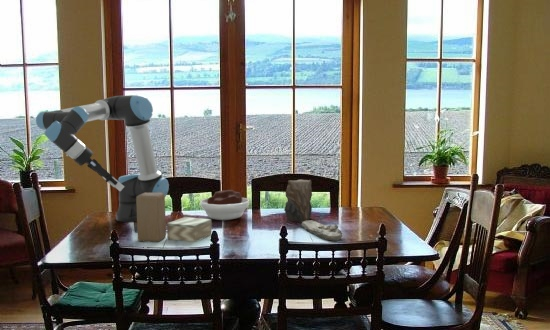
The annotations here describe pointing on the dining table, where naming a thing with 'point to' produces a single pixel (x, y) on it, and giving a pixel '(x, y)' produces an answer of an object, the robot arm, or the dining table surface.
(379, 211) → the dining table surface
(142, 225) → the wooden block
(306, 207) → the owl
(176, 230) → the birch step
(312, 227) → the elongated rock
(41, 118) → the robot arm
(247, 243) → the dining table surface
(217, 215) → the white bowl of dessert
